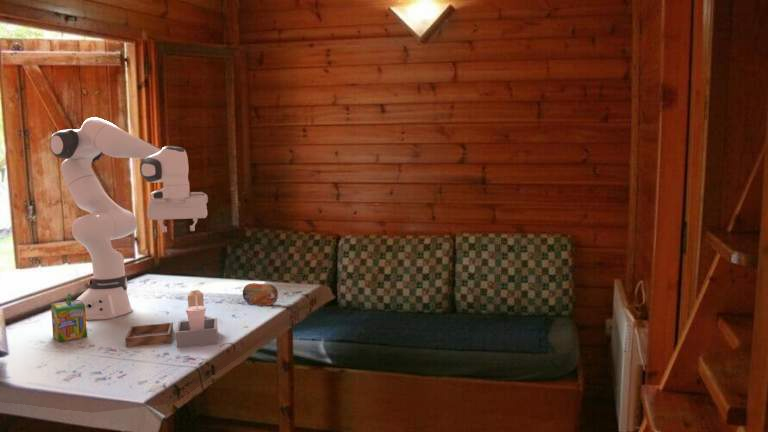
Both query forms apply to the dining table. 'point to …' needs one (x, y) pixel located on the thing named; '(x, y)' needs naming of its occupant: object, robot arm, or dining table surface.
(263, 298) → the tin
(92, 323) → the dining table surface
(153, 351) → the dining table surface
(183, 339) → the bin
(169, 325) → the frame
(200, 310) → the smoothie
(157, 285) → the dining table surface
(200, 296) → the candle
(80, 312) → the chalk box
